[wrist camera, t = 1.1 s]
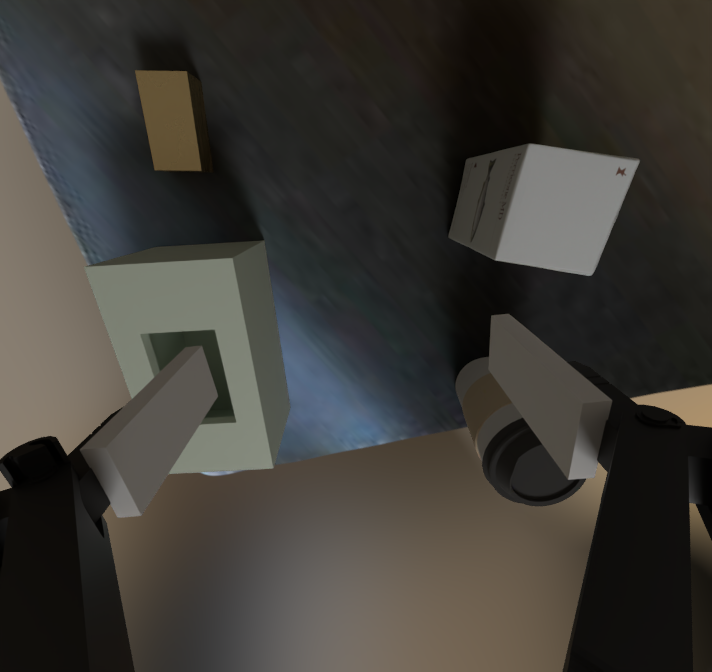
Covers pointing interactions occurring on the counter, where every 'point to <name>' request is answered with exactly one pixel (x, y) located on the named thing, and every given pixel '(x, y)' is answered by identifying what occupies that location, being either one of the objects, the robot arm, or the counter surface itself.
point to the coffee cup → (508, 442)
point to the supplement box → (541, 205)
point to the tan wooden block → (175, 121)
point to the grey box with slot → (203, 341)
